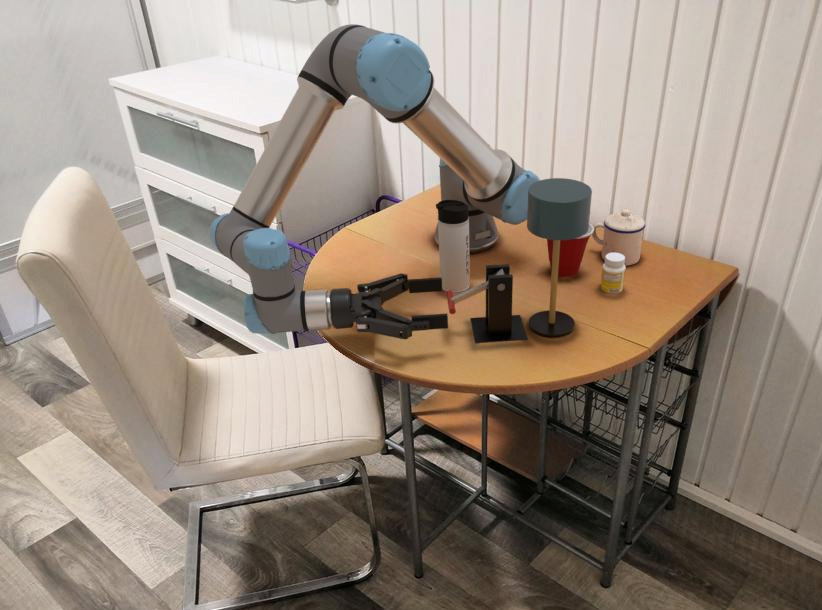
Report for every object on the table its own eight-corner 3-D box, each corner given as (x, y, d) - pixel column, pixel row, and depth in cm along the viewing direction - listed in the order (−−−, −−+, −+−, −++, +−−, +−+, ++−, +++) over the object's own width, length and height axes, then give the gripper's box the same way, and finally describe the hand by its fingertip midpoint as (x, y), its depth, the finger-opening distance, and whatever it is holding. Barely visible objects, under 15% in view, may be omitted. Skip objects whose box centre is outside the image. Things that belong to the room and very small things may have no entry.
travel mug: (434, 286, 160) (431, 199, 148) (462, 280, 162) (461, 194, 150) (445, 300, 155) (442, 211, 144) (474, 293, 157) (473, 205, 146)
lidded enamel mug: (646, 254, 171) (652, 207, 164) (632, 270, 164) (638, 222, 158) (597, 243, 176) (602, 196, 169) (582, 258, 170) (586, 211, 163)
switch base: (475, 348, 140) (474, 284, 132) (470, 322, 148) (469, 261, 140) (527, 344, 141) (529, 281, 133) (519, 319, 148) (521, 258, 140)
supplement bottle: (609, 284, 160) (613, 249, 155) (627, 292, 157) (631, 256, 152) (595, 292, 157) (599, 256, 152) (613, 300, 154) (617, 264, 149)
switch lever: (452, 317, 137) (446, 308, 136) (449, 298, 143) (443, 289, 142) (511, 290, 135) (505, 280, 134) (505, 272, 141) (500, 262, 139)
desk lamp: (519, 317, 149) (523, 179, 133) (572, 313, 150) (583, 176, 133) (528, 347, 140) (534, 204, 124) (585, 343, 141) (598, 200, 124)
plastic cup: (598, 282, 161) (603, 231, 154) (551, 289, 158) (554, 238, 151) (577, 259, 169) (582, 211, 162) (533, 266, 167) (535, 217, 160)
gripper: (336, 293, 150) (440, 286, 151) (330, 364, 130) (450, 355, 131) (331, 260, 146) (439, 253, 147) (325, 328, 125) (449, 319, 127)
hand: (444, 301), depth 139 cm, fingers open, 13 cm apart
